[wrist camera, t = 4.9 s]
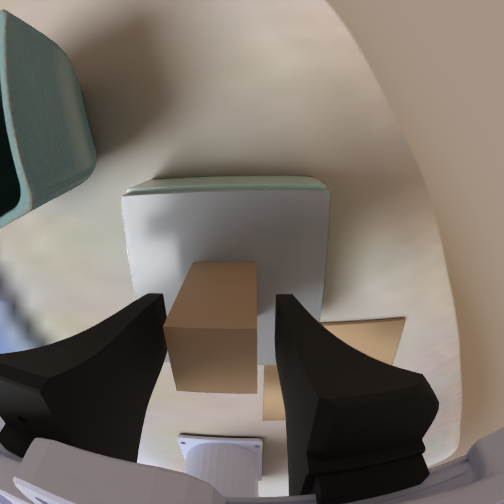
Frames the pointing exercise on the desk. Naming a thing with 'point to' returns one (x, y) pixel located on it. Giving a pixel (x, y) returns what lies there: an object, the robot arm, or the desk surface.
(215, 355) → the lid
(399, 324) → the mat
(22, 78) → the flower pot
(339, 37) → the desk surface
